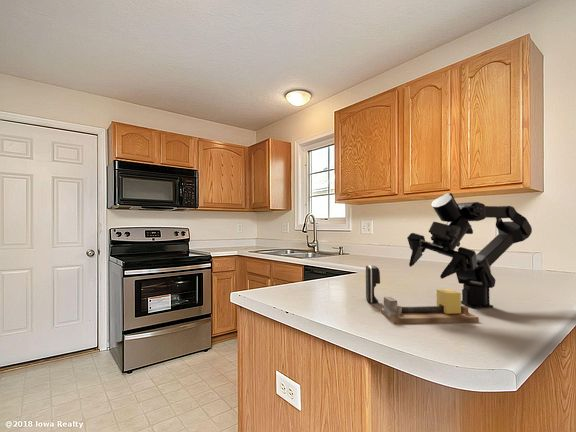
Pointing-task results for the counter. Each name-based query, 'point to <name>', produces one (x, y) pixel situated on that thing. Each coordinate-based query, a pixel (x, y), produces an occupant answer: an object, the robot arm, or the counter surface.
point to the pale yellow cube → (449, 300)
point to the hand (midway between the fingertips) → (424, 271)
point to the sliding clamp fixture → (423, 313)
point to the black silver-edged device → (371, 282)
